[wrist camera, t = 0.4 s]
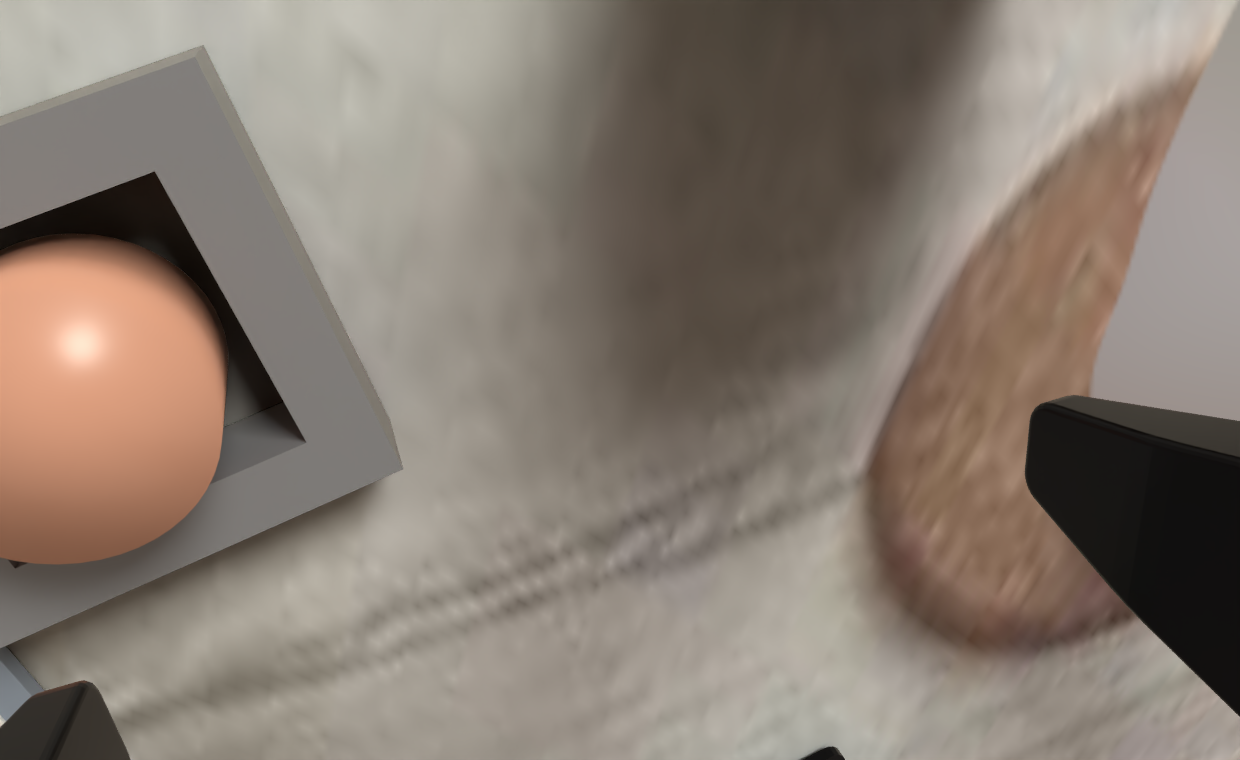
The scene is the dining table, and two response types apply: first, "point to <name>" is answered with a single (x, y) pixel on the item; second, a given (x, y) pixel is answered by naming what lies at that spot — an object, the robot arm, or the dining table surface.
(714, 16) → the dining table surface
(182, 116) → the button housing
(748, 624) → the dining table surface
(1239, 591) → the robot arm
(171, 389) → the button
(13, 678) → the drawing board
